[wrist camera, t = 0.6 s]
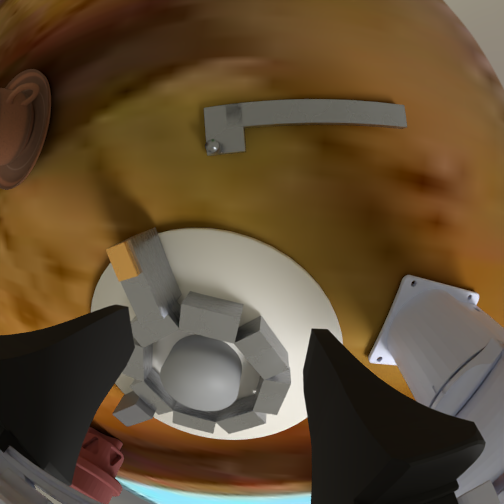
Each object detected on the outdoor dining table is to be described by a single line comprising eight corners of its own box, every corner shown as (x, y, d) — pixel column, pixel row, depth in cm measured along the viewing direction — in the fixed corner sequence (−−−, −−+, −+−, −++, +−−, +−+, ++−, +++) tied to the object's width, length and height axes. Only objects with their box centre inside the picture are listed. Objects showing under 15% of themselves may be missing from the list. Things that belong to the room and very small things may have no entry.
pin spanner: (398, 108, 15) (411, 101, 13) (403, 150, 16) (417, 148, 14) (207, 111, 16) (198, 103, 14) (210, 156, 17) (202, 153, 15)
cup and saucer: (39, 54, 15) (0, 42, 9) (80, 113, 17) (28, 103, 11) (-11, 142, 17) (-48, 144, 12) (21, 211, 19) (-23, 224, 13)
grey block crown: (325, 266, 17) (338, 291, 13) (264, 427, 22) (262, 459, 18) (135, 222, 17) (104, 235, 14) (134, 393, 22) (118, 420, 18)
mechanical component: (132, 435, 26) (141, 465, 29) (71, 407, 27) (87, 442, 29) (98, 505, 15) (117, 523, 17) (31, 464, 15) (57, 492, 18)
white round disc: (381, 266, 18) (402, 286, 14) (293, 446, 24) (294, 472, 21) (96, 202, 18) (65, 209, 15) (106, 397, 24) (92, 418, 21)
